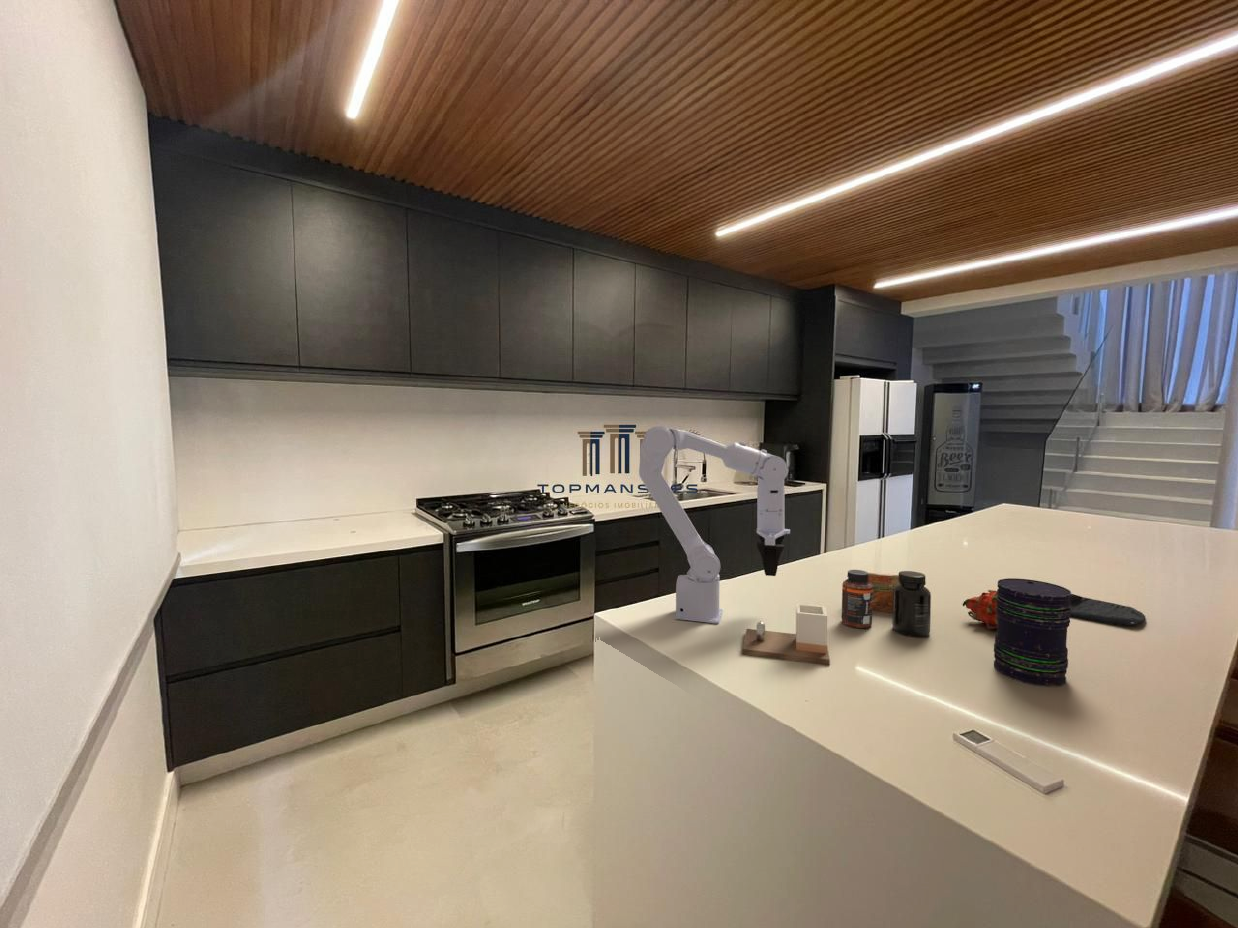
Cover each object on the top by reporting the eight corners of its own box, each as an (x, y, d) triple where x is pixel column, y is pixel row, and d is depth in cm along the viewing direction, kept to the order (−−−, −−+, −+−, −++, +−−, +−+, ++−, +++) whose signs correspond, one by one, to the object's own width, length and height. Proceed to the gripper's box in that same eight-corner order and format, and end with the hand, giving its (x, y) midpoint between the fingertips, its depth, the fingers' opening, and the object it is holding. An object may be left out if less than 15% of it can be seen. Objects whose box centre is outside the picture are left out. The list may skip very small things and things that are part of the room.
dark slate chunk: (1137, 636, 103) (1139, 613, 103) (1005, 606, 120) (1006, 586, 120) (1149, 618, 113) (1151, 597, 112) (1025, 592, 130) (1026, 574, 130)
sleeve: (796, 649, 94) (796, 612, 94) (795, 638, 99) (796, 603, 99) (826, 653, 93) (827, 615, 92) (824, 642, 98) (825, 606, 97)
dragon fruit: (1033, 647, 101) (965, 636, 111) (1043, 614, 105) (976, 606, 115) (1019, 617, 98) (951, 608, 108) (1029, 585, 102) (962, 579, 112)
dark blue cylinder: (1073, 693, 80) (1078, 600, 79) (995, 677, 86) (999, 590, 85) (1060, 667, 89) (1065, 583, 88) (990, 654, 94) (994, 575, 93)
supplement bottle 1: (875, 630, 106) (877, 576, 105) (844, 628, 107) (846, 575, 106) (867, 619, 112) (869, 568, 111) (838, 617, 113) (839, 567, 112)
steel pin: (756, 641, 98) (756, 622, 98) (756, 637, 100) (756, 619, 100) (764, 642, 98) (765, 623, 98) (765, 638, 99) (765, 620, 99)
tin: (848, 608, 119) (849, 572, 118) (847, 603, 122) (848, 569, 121) (922, 616, 113) (924, 579, 113) (920, 611, 116) (921, 575, 116)
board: (742, 654, 95) (742, 648, 95) (746, 633, 105) (746, 628, 105) (829, 664, 91) (829, 659, 90) (825, 642, 100) (825, 637, 100)
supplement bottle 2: (927, 627, 107) (929, 571, 106) (932, 640, 101) (934, 580, 100) (890, 622, 110) (892, 567, 109) (892, 634, 104) (894, 576, 103)
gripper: (790, 515, 104) (790, 581, 105) (789, 504, 118) (789, 562, 119) (754, 514, 106) (754, 578, 107) (758, 504, 120) (758, 561, 121)
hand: (771, 570), depth 113 cm, fingers open, 7 cm apart
